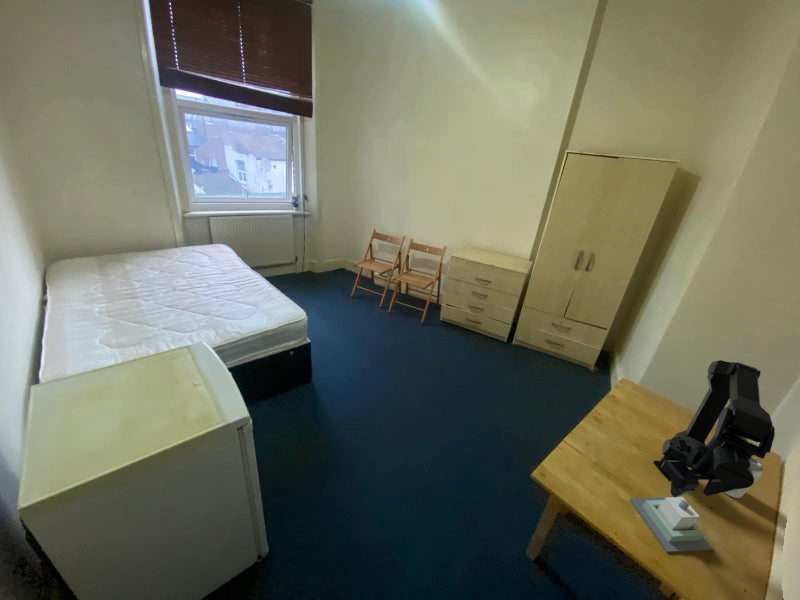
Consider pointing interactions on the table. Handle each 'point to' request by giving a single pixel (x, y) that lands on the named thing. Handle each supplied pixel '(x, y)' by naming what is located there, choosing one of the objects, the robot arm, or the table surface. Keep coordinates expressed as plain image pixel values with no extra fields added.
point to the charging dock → (669, 529)
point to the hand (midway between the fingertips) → (689, 494)
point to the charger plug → (677, 513)
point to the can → (756, 472)
